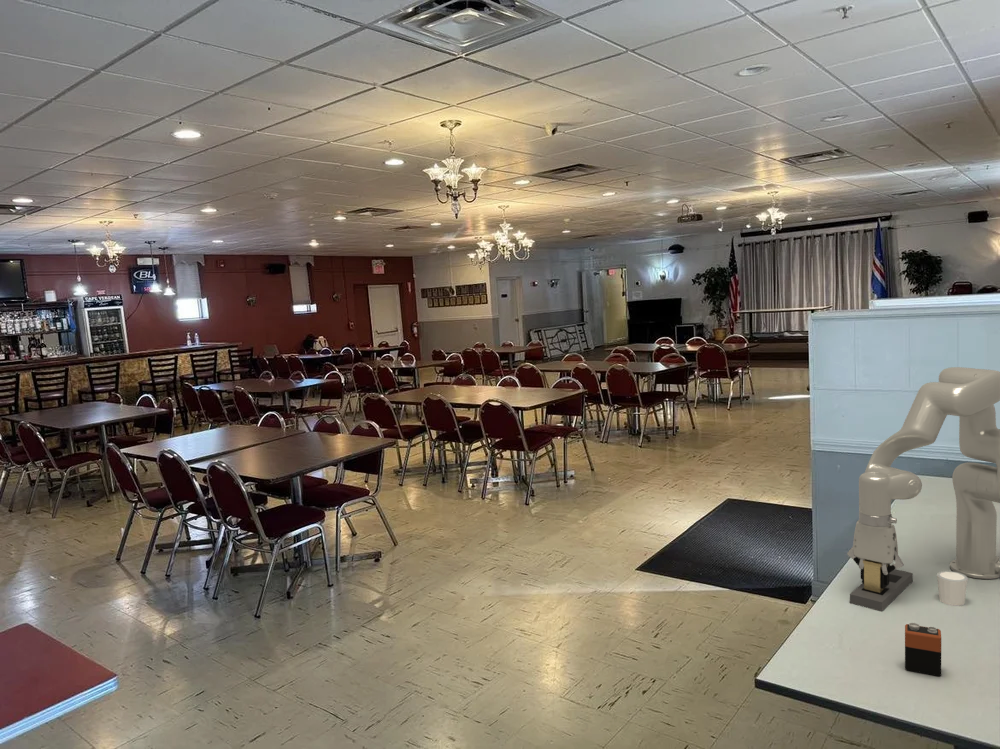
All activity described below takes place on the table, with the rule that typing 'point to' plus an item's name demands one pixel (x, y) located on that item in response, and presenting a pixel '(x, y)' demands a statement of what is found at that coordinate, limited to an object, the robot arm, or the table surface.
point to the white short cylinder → (952, 587)
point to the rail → (882, 600)
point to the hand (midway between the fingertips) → (874, 584)
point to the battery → (922, 649)
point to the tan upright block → (872, 576)
